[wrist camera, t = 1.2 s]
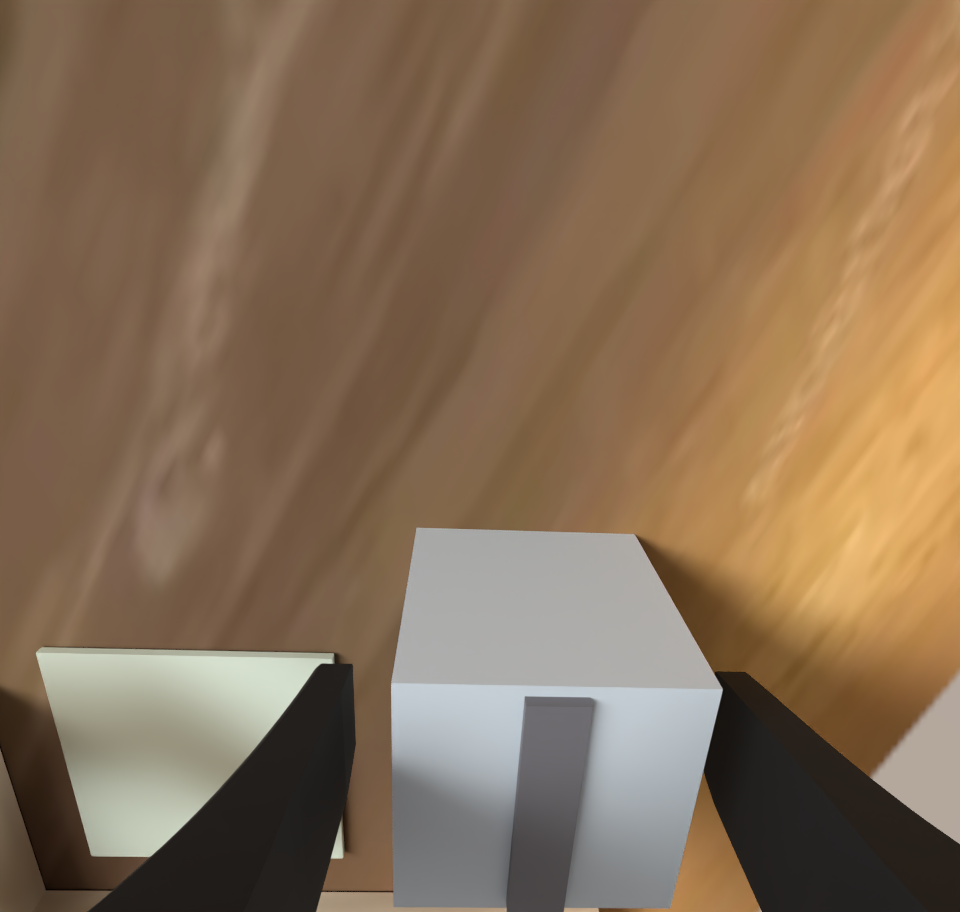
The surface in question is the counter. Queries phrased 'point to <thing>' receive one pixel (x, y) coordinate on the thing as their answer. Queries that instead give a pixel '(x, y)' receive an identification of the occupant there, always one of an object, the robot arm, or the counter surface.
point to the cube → (543, 724)
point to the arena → (157, 755)
